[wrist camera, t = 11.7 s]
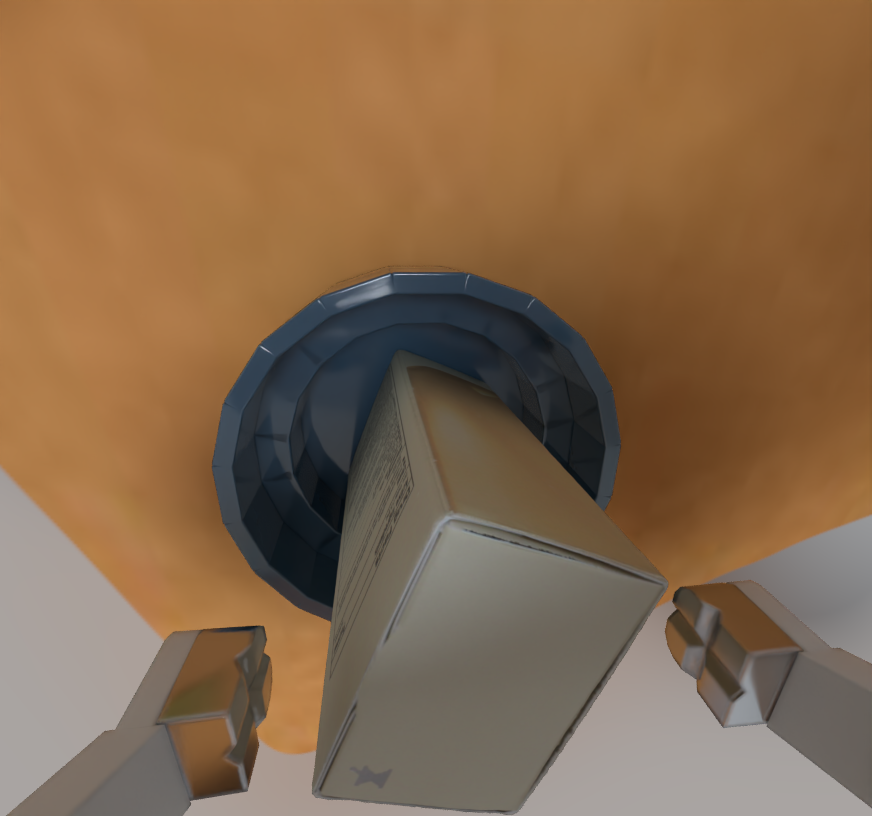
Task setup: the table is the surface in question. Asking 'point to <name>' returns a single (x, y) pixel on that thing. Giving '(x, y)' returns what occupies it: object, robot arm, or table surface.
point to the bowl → (356, 392)
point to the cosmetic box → (466, 603)
